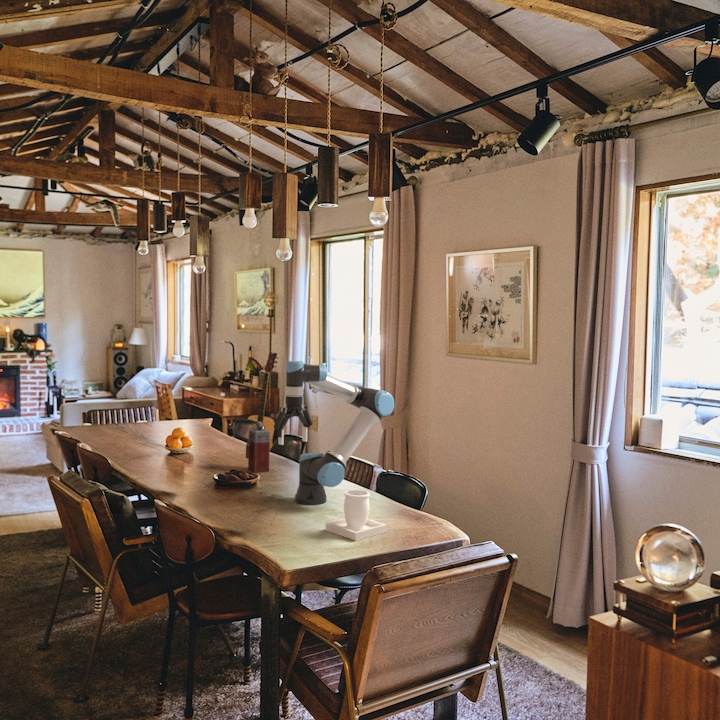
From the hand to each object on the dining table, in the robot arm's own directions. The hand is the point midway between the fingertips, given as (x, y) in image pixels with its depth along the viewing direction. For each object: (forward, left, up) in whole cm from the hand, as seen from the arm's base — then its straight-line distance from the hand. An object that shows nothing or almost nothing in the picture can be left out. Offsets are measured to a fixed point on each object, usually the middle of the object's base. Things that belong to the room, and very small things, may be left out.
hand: (292, 442), depth 314 cm
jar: (-4, +38, -31) cm, 49 cm away
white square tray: (-4, +38, -32) cm, 50 cm away
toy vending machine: (-37, -77, -32) cm, 91 cm away
